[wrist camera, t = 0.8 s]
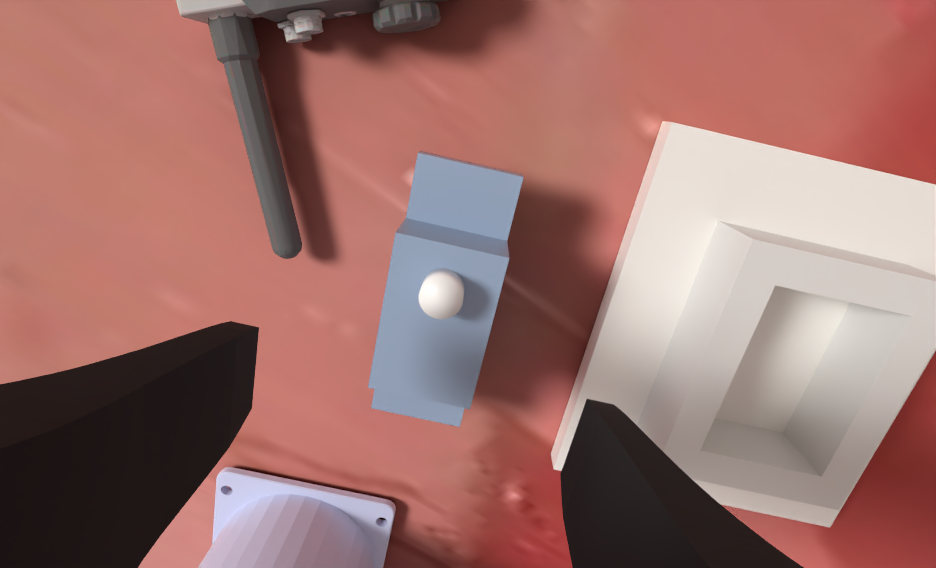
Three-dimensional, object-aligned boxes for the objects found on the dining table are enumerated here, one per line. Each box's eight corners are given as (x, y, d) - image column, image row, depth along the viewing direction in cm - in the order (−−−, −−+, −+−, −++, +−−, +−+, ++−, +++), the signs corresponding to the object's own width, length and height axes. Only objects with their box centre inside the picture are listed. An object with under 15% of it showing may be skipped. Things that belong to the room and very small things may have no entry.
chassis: (815, 509, 23) (871, 579, 19) (550, 453, 22) (561, 515, 19) (994, 200, 18) (1108, 222, 15) (662, 121, 17) (702, 125, 14)
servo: (463, 381, 21) (454, 478, 16) (387, 364, 21) (352, 456, 16) (518, 164, 18) (530, 192, 13) (429, 144, 18) (403, 162, 13)
